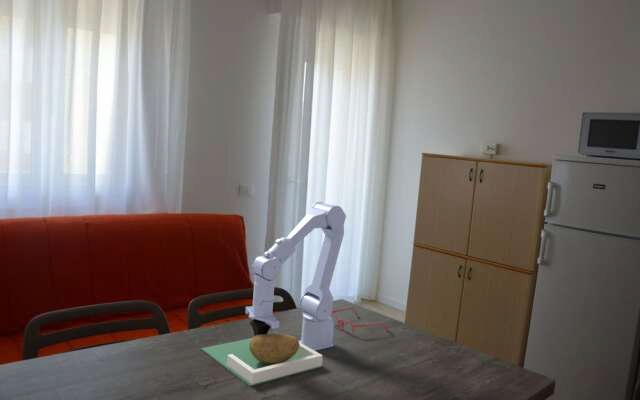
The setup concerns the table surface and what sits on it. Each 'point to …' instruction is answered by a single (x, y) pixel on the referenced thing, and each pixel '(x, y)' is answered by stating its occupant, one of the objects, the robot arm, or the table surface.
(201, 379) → the table surface
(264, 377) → the white angular frame
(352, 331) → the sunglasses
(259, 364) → the green mat
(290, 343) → the potato
